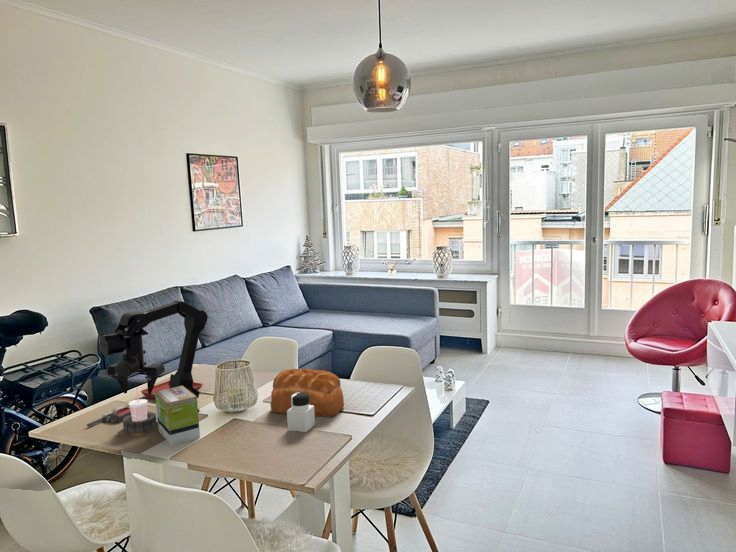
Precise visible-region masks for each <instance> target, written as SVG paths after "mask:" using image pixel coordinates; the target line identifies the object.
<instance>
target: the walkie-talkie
mask: <svg viewBox="0 0 736 552" xmlns="http://www.w3.org/2000/svg"><path fill="white" fill-rule="evenodd" d="M129 415H131V410H130V407H129V403H128V404H126V406H124V405H121V406H118V407H116V408H114V409H112V411H110V412H107V413H105V414H103V415H102V416H101V418H98V419H96V420H94V421H92V422H89V423H86V426H87V427H88V428H89V427H92V426H94V425H96V424H98V423H100V422H102V421H106V422H110V421H113V422H112V423H117V422H119V423H120V422H121V423H123V422H122V421H123V418H125V417H126V416H129ZM121 423H120V424H121Z"/></svg>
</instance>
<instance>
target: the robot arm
mask: <svg viewBox="0 0 736 552" xmlns="http://www.w3.org/2000/svg"><path fill="white" fill-rule="evenodd" d="M177 314H178V315H179V316H180V317H182V318H183V319H184V321H183V325H184V329H185V335H184V340H183V345H182V350H181V355H180V358H179V363H178V368H177V370H176V372H175V373H174V374H173V373H171V374H170V375H169V376H170V377H169V380H170V382H169V384H168V385H169V389H170V388H174V387H178V386H184V387H185V388H186V389H188V390H189V391H190V392H191V393H193V394H194V395H195V396H197V399H199V396H200V391H199V390H198V391H197V390H196V389H194V388H193V382H194V378H193V375H192V371H193V365H194V361H195V357H196V352H197V347H198V343H199V337H200V334H201V333H202V331H203V330H204V329H205V327H206V326H207V323H208V319H209V317H208V316H209V315H208V314H207V312H205V310H203V309H198V308H196V307H193V306H192V305H190V304H188V303H186V302H185V301H183V300H174V301H172V302H169V303H167V304H166V303H165V304H162V305H159V306H156V307H153V308H150V309H147V310H143V311H131V312H125V313H123V314H122V315H121V317H120V319H119V323H118V324H117V326H116V328H115V329H114V331H113V333H110V334H104V335H102V339H101V340H100V342H99V343H100V344H99V349H100V352H101V354H102V355H103V356H104V357H107V356H112V355H116V354H121V353H123V352H125V353H123V354H122V360H121V361H119V362H115V363H113V364H110V365H108V366H107V369H106V375H107V376H110V377H111V378H114V379H115V380H116V381H117V382H118V384H119V387H120V388H121V389H122V392H123V394H127V393H128V387H129V385H128V384H129V381H128V380H129V377H130V376H131V375H132V374H133V373H144V374H145V376H144V379H146V382H147V383H146V384H147V388H148V394H151V393H152V390H153V387H154V386H155V385H156V382H157V379H158V377H159V376H161V375H162V374H163V373H164V372H166V369H165V365H164V364H163V363H152V364H151V365H148V366H147V361H145V357H144V356H145V355H144V354H146V352H147V351H146V350H145V349H144V345H143V336H146V335H148V334H149V332H147V331H146V330H145V329H144V328H146V327H147V326H148V325H150V324H151V323H152V322H155V321H159V320H161V319H163V318H167V317H170V316H173V315H177ZM198 412H200V409H199V408H198Z"/></svg>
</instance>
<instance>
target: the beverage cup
mask: <svg viewBox="0 0 736 552" xmlns="http://www.w3.org/2000/svg"><path fill="white" fill-rule="evenodd" d="M148 403H149V402H148V399H145V398H140V396H139V389H138V387H136V399H134V400H131V401H130V402H128V404H129V407H130V410H131V417H132V421H135V422H136V421H143V420H146V419H147V412H148Z"/></svg>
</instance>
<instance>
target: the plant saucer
mask: <svg viewBox="0 0 736 552" xmlns="http://www.w3.org/2000/svg"><path fill="white" fill-rule="evenodd" d="M169 382H170V379H169V380H166V381H164V382H160V383H159V384H154V387H153V390H152V393H151V394H148V387H147V388H145V389H141V390H140V393H141V394H142V395H143V396H145V397H146V398H149V397H150V398H149V399H154V398H155V391H161V390H165V389H169V385H168V384H169ZM203 385H204V383H200V382H195V381H193V388H194V389H196V390H197V391H198V392H199V391H200V389H201V388H202V387H203ZM155 400H156V398H155Z"/></svg>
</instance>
